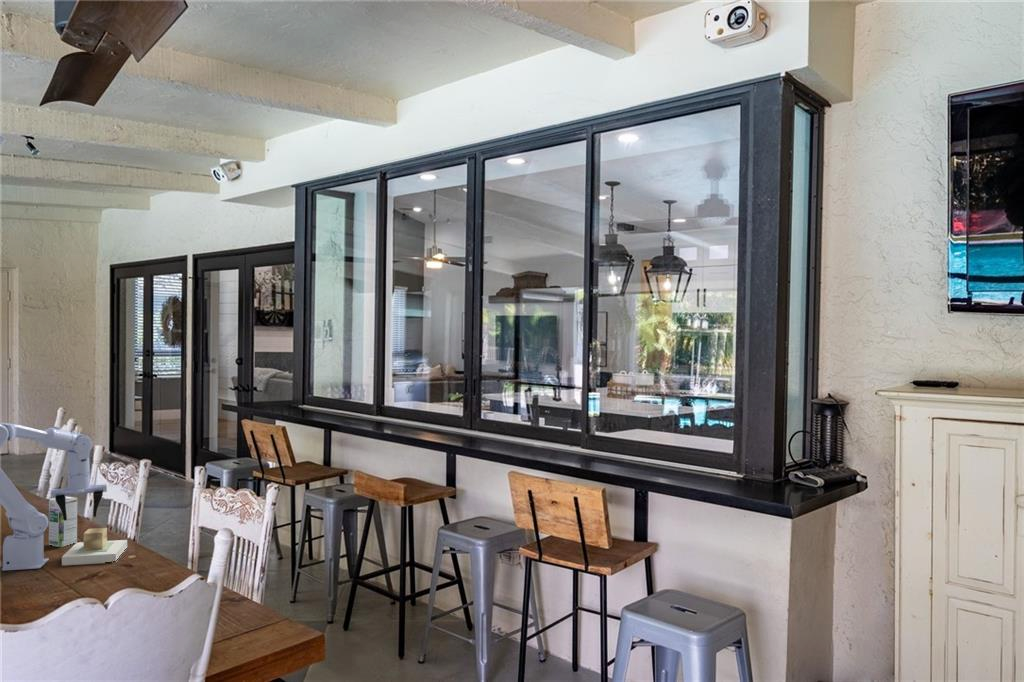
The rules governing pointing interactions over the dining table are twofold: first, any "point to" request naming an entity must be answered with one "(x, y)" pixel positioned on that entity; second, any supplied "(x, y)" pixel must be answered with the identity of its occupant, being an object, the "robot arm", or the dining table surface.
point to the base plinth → (94, 553)
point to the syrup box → (62, 523)
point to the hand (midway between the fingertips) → (80, 517)
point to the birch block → (95, 539)
